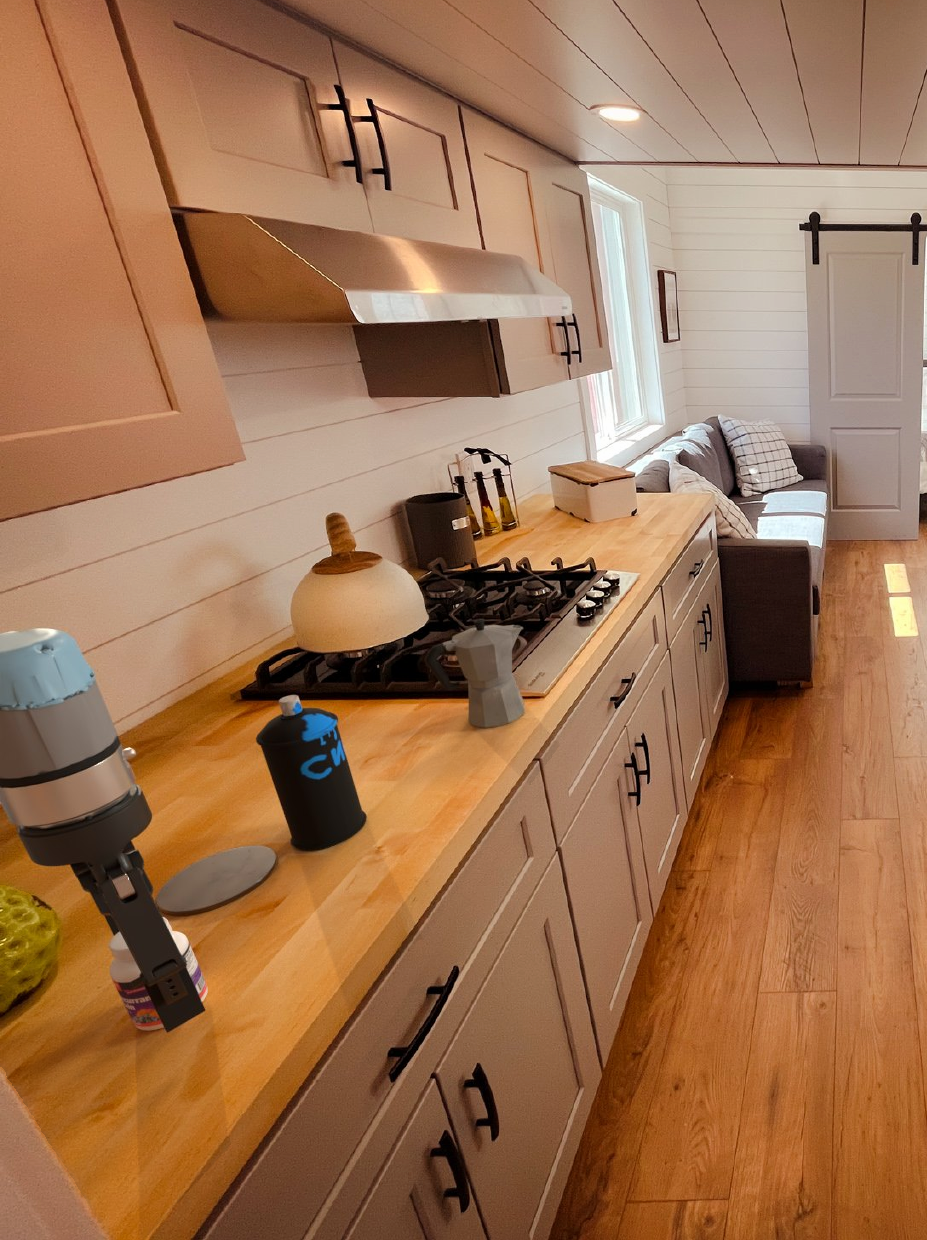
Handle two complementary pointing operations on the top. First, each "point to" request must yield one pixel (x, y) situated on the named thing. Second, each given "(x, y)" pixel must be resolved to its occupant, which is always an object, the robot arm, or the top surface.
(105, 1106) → the top surface
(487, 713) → the coffeepot
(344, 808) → the aerosol can
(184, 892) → the coaster
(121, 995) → the pill bottle
